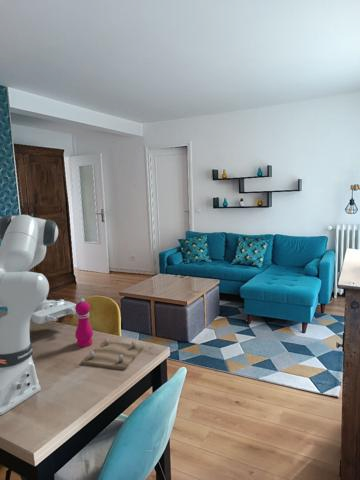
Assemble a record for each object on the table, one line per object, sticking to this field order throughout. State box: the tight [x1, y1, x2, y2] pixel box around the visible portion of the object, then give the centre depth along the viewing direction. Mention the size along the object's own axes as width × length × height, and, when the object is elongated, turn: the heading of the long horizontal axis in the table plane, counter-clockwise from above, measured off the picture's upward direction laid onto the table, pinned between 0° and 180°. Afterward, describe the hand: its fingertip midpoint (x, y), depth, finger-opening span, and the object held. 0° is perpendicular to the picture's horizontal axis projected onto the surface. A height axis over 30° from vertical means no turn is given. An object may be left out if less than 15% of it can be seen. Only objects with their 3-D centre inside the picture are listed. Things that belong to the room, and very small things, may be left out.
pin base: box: [80, 337, 144, 371], centre depth 135 cm, size 18×18×4 cm
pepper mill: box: [74, 298, 94, 348], centre depth 145 cm, size 7×7×20 cm
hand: (65, 315), depth 152 cm, fingers open, 8 cm apart
